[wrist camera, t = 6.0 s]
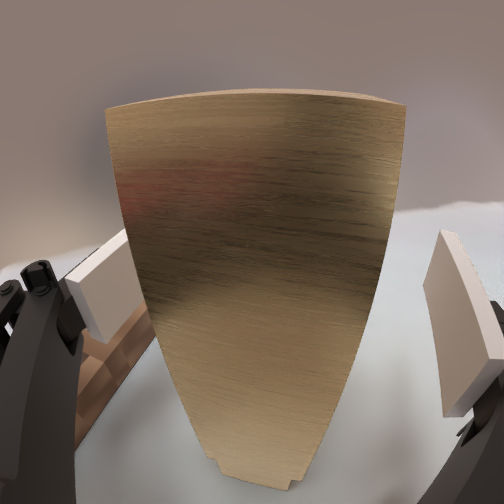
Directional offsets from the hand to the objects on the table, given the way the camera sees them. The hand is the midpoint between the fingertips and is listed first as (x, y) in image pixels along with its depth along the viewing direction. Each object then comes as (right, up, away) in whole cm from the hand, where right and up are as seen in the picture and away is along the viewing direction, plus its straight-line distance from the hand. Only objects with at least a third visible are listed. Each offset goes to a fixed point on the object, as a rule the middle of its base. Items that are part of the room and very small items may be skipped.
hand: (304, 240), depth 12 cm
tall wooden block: (-1, -10, +2) cm, 10 cm away
